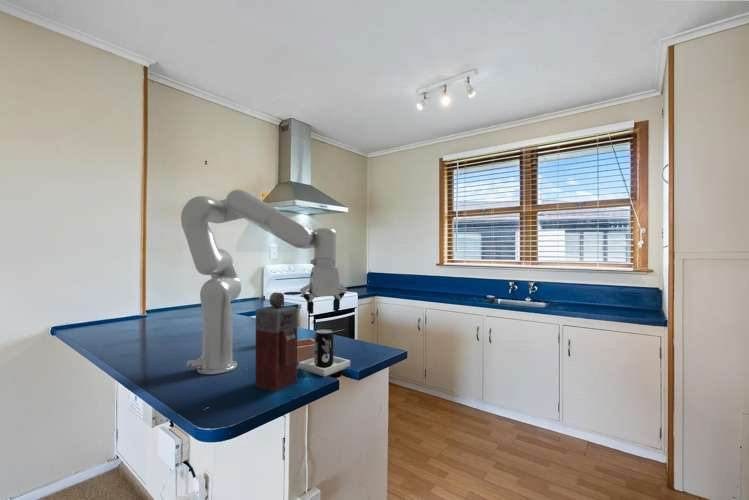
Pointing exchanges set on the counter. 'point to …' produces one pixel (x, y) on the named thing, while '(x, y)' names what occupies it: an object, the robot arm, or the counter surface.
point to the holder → (305, 349)
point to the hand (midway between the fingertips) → (323, 312)
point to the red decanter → (276, 345)
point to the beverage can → (324, 348)
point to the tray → (336, 366)
